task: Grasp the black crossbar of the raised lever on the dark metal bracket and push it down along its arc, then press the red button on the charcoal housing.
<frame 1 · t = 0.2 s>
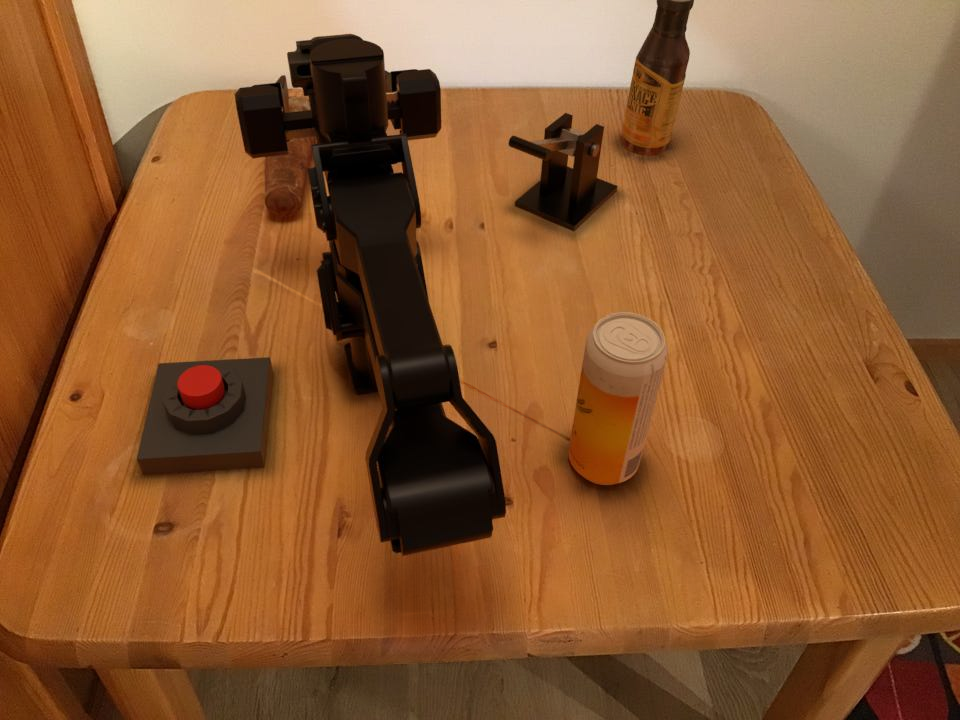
hand: (330, 75, 86), 17 cm above the table, tool horizontal, fingers open, 9 cm apart
bracket: (566, 202, 100), on the table
beer can: (602, 462, 73), on the table
lever: (554, 144, 90), point 10 cm above the table, hinge at 22.0°
brown tapered cylinder: (295, 177, 102), on the table
button: (201, 387, 72), point 4 cm above the table, slide at 0.1 cm
button box: (212, 421, 75), on the table
sauce bottle: (644, 148, 109), on the table
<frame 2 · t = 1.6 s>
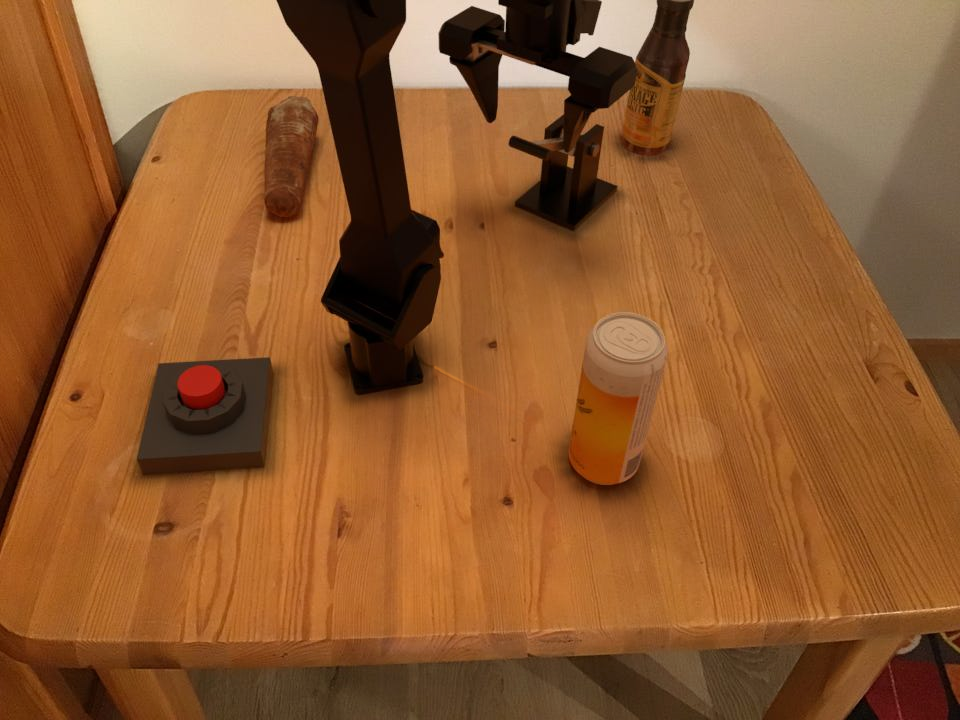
hand: (529, 135, 85), 13 cm above the table, tool pointing down, fingers open, 9 cm apart
nothing on the table moved.
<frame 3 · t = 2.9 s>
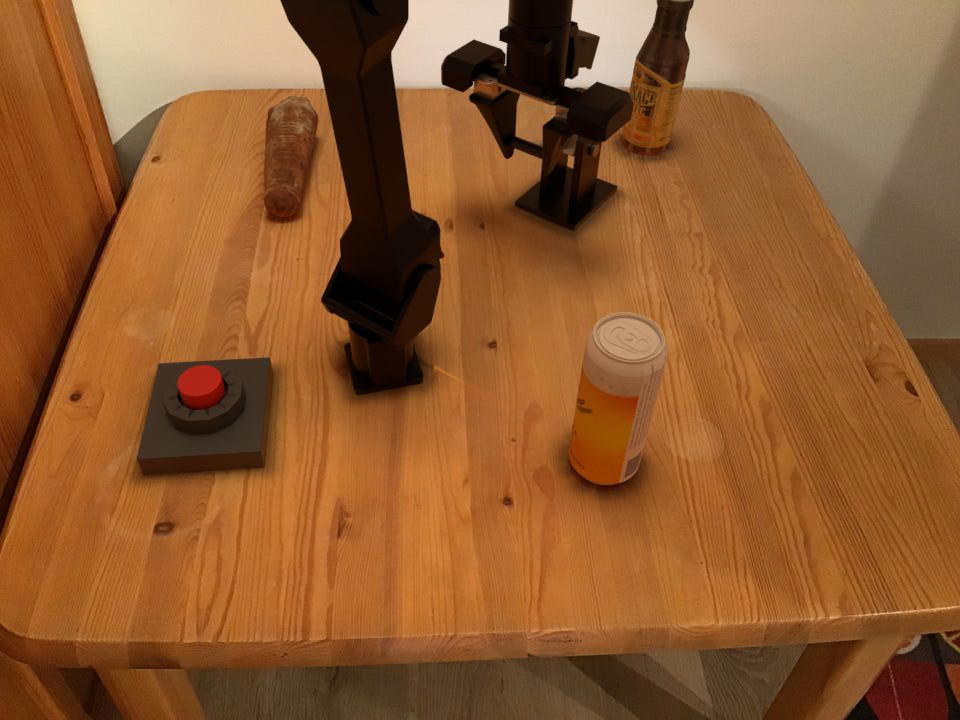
hand: (528, 165, 87), 10 cm above the table, tool pointing down, fingers closed on lever, 4 cm apart
lever: (554, 144, 90), point 10 cm above the table, hinge at 22.0°, touching gripper
everything else where it was.
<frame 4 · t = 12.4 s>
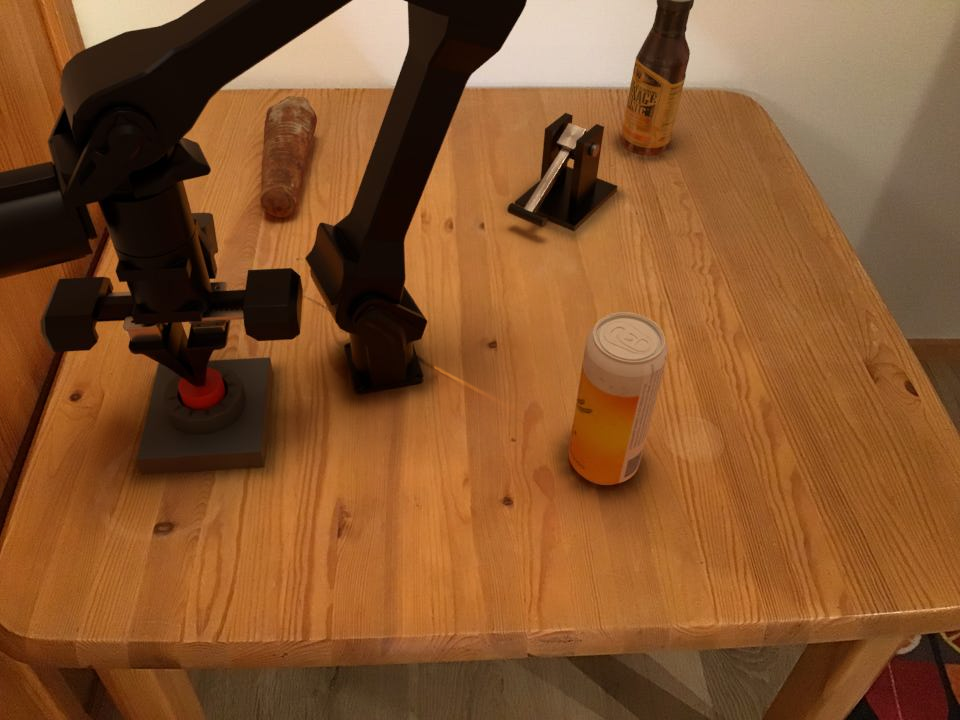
hand: (200, 382, 71), 5 cm above the table, tool pointing down, fingers closed, pressing on button
lever: (552, 175, 93), point 6 cm above the table, hinge at -28.8°
button: (202, 389, 72), point 4 cm above the table, slide at -0.2 cm, touching gripper
everything else where it was.
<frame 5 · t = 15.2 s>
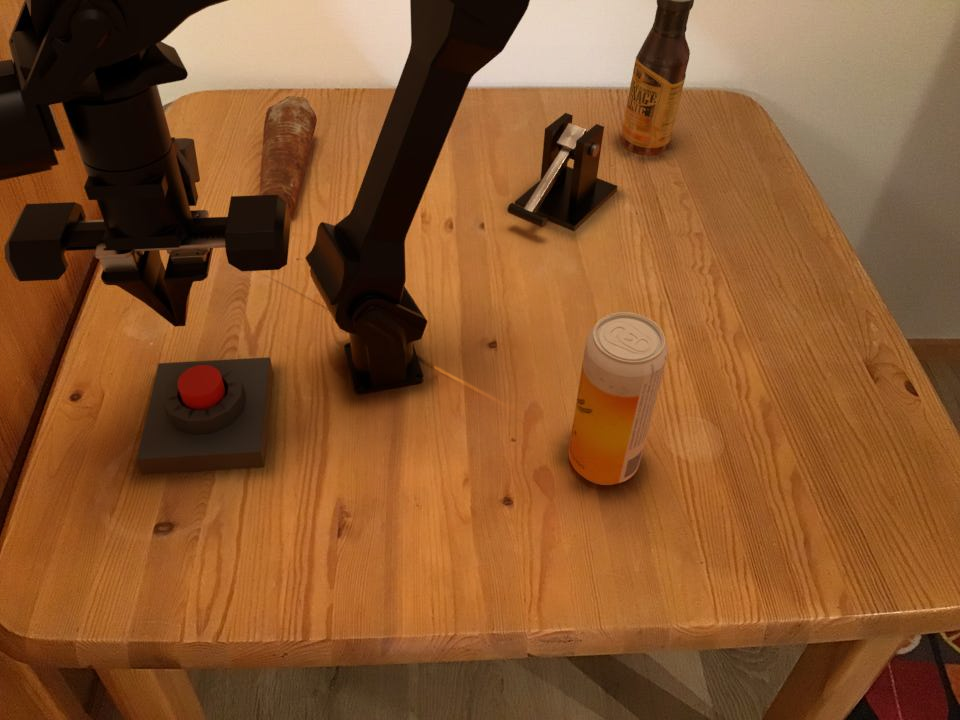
hand: (181, 322, 67), 12 cm above the table, tool pointing down, fingers closed
button: (201, 387, 72), point 4 cm above the table, slide at 0.1 cm
everything else where it was.
at the end: lever at -29° (first picture: +22°); button pushed in 1.2 cm at the most during the clip, back to where it started at the end; button slide at 0.1 cm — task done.
